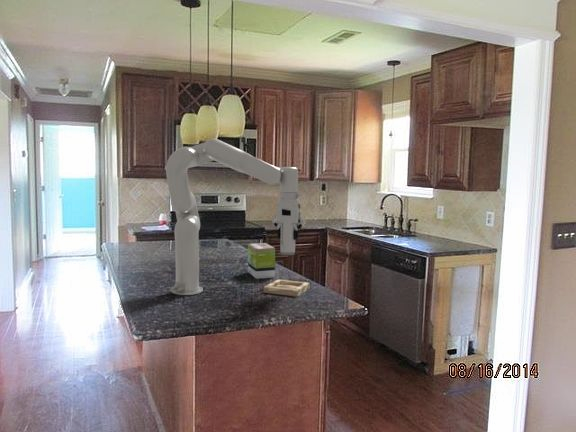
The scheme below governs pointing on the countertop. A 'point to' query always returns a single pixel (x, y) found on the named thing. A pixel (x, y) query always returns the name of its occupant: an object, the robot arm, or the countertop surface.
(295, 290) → the holder base
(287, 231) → the travel mug
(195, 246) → the robot arm
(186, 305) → the countertop surface
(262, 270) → the tea box
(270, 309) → the countertop surface
